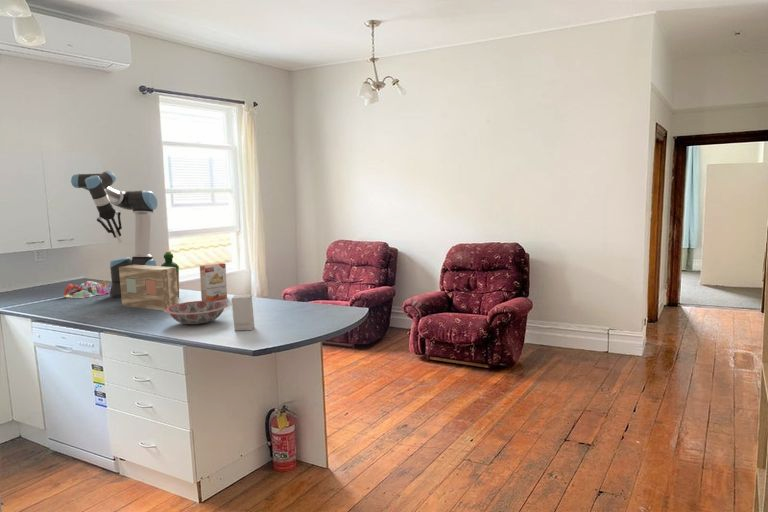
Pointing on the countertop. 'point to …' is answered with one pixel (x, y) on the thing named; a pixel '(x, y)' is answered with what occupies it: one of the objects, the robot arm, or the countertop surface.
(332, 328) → the countertop surface
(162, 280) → the block
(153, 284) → the terracotta button
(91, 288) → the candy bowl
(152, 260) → the robot arm
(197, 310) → the ceramic bowl
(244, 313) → the skincare box
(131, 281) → the sage button
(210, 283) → the cracker box
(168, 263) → the bottle
